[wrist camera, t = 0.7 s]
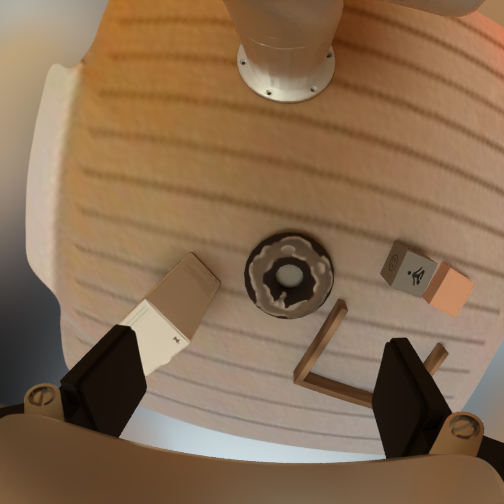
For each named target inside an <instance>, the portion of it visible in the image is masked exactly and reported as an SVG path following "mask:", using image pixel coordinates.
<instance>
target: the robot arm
mask: <svg viewBox="0 0 504 504" xmlns="http://www.w3.org/2000/svg"><path fill="white" fill-rule="evenodd" d="M223 1H224V3H225V5H226V7H227V9H228V11H229V14H230V16H231V19H232V21H233V24H234V26H235V29H236V31H237V34H238V36H239V39H240V41H241V43H240V46H239V48H238V53H237V66H238V69H239V73H240V75H241V77H242V79H243V80H244V82H245V83H246V85H247V86H248V87H249V88H250V89H251V90H252V91H253V92H255V93H256V94H258V95H259V96H261V97H263V98H265V99H267V100H270V101H274V102H277V103H287V104H289V103H298V102H302V101H306V100H308V99H311V98H313V97H315V96H316V95H318V94H319V93H320V92H322V91H323V90H324V89H325V88H326V86H327V85H328V84H329V82H330V80H331V79H332V76H333V74H334V70H335V54H334V50H333V47H332V45H331V43H332V41H333V38H334V35H335V32H336V30H337V27H338V24H339V21H340V19H341V16H342V12H343V7H344V0H223ZM382 1H386V2H390V3H395V4H399V5H402V6H406V7H410V8H414V9H418V10H422V11H425V12H429V13H433V14H436V15H441V16H448V17H461V16H465V15H468V14H470V13H472V12H474V11H475V10H477V9H478V8H479V7H480V6H481V5H482V4H483V2H484V1H485V0H382ZM327 56H330V58H328V57H327ZM242 63H246V64H245V65H242ZM311 89H314V92H311ZM269 92H270V93H271V95H270V96H269V95H267V94H268V93H269ZM60 382H61V385H62V386H61V387H60V388H58V387H56V386H55V385H53V384H47V383H46V384H39V385H36V386H34V387H33V388H31V389H30V390H28V392H27V393H26V395H25V400H24V403H23V404H18V405H13V406H9V407H4V408H0V504H504V443H502V442H499V441H497V440H494V439H491V438H488V437H486V436H484V435H483V434H484V425H483V423H482V421H481V420H480V419H479V418H478V417H477V416H476V415H474V414H471V413H469V412H455V413H452V412H451V410H450V408H449V406H448V404H447V403H446V401H445V399H444V397H443V395H442V394H441V392H440V390H439V388H438V387H437V385H436V383H435V382H434V380H433V378H432V376H431V375H430V373H429V372H428V371H427V370H426V368H425V366H424V365H423V363H422V361H421V360H420V358H419V356H418V355H417V353H416V351H415V350H414V348H413V347H412V345H411V343H410V342H409V340H408V339H407V338H392V339H391V340H390V342H387V343H386V344H385V348H384V353H383V357H382V361H381V365H380V369H379V373H378V377H377V381H376V385H375V388H374V392H373V396H372V409H373V412H374V415H375V419H376V422H377V426H378V430H379V433H380V437H381V441H382V444H383V448H384V452H385V456H386V459H380V460H369V461H355V462H338V463H274V462H256V461H243V460H232V459H224V458H216V457H208V456H201V455H195V454H188V453H183V452H177V451H172V450H167V449H162V448H157V447H152V446H148V445H144V444H140V443H135V442H132V441H128V440H124V439H121V438H119V436H120V435H121V433H122V431H123V429H124V428H125V426H126V424H127V423H128V421H129V419H130V418H131V416H132V414H133V413H134V411H135V409H136V408H137V406H138V404H139V403H140V401H141V399H142V398H143V396H144V394H145V393H146V389H147V384H146V380H145V375H144V371H143V366H142V362H141V357H140V352H139V347H138V342H137V336H136V332H135V331H134V330H132V328H131V327H130V326H125V325H118V324H116V325H115V326H114V327H113V328H112V329H111V330H110V331H109V332H108V333H107V334H106V335H105V336H104V337H103V338H102V339H101V340H100V341H99V342H98V343H97V344H96V345H95V346H94V347H93V348H92V349H91V350H90V351H89V352H88V353H87V354H86V355H85V356H84V357H83V358H82V359H81V360H80V361H79V362H78V363H77V364H76V365H75V366H74V367H73V368H72V369H71V370H70V371H69V372H68V373H67V374H66V375H65V376H64V377H63V378H62V379H61V380H60Z"/></svg>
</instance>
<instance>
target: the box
mask: <svg viewBox="0 0 504 504" xmlns="http://www.w3.org/2000/svg"><path fill="white" fill-rule="evenodd" d="M347 312H348V309H347V306H346V304H345V302H344V301H342V300H340V299H338V301H337V302H336V304H335V306H334V308H333V309H332V311H331V313H330V314H329V316H328V318H327V319H326V321H325V323H324V324H323V326H322V328H321V329H320V331H319V333H318V334H317V336H316V338H315V339H314V341H313V342H312V344H311V345H310V347H309V349H308V350H307V352H306V353H305V355H304V356H303V358H302V360H301V361H300V363H299V364H298V366H297V367H296V369H295V370H294V384H297V385H300V386H302V387H305V388H308V389H311V390H314V391H317V392H320V393H323V394H326V395H329V396H332V397H335V398H338V399H341V400H345V401H348V402H351V403H354V404H358V405H361V406H365V407H368V408H372V396H373V393H369V392H366V391H363V390H360V389H357V388H354V387H351V386H348V385H345V384H342V383H339V382H336V381H333V380H330V379H327V378H325V377H322V376H319V375H316V374H313V373H311V372H309V371H310V370H311V368H312V367H313V365H314V364H315V362H316V361H317V359H318V358H319V356H320V355H321V353H322V352H323V350H324V349H325V347H326V346H327V344H328V343H329V341H330V339H331V338H332V336H333V335H334V333H335V332H336V330H337V328H338V327H339V325H340V324H341V322H342V320H343V319H344V317H345V315H346V314H347ZM448 354H449V353H448V352H447V351H446V349H445V348H444V347H443V345H442V344H440V343H437V345H436V346H435V348H434V349H433V351H432V352H431V353H430V355H429V356H428V358H427V359H426V360H425V362H424V363H423V365H424V366H425V368H426V370H427V371H428V372H429V373H430V375H431V376H433V375H434V373H435V372H436V371H437V369H438V368H439V367H440V365H441V364H442V363H443V361H444V360H445V358H446V357H447V356H448Z"/></svg>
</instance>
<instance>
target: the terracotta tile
mask: <svg viewBox="0 0 504 504" xmlns="http://www.w3.org/2000/svg"><path fill="white" fill-rule="evenodd" d="M474 286H475V283H473V282H472V281H471V280H469V279H468V278H466V277H465V276H463V275H462V274H460V273H459V272H457V271H456V270H454V269H453V268H451V267H450V266H448V265H446V264H445V263H443V262H442V263H441V265H440V267H439V269H438V270H437V272H436V274H435V276H434V277H433V279H432V281H431V283H430V284H429V286H428V288H427V289H426V291H425V293H424V294H423V296H422V297H423V298H424V299H425V300H426V301H427V302H428V303H429V304H430V305H432V306H434V307H435V308H437V309H439V310H441V311H443V312H445V313H446V314H448V315H450V316H452V317H454V318H456V316H457V314H458V313H459V311H460V310H461V308H462V306H463V305H464V303H465V301H466V300H467V298H468V296H469V295H470V293H471V291H472V289H473V288H474Z"/></svg>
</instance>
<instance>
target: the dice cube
mask: <svg viewBox="0 0 504 504" xmlns="http://www.w3.org/2000/svg"><path fill="white" fill-rule="evenodd" d="M436 266H437V263H436V262H434V261H433V260H432V259H430V258H429V257H427V256H426V255H425V254H423V253H421V252H419V251H417V250H414V249H412V248H410V247H408V246H405V245H403V244H401V243H399V242H396V241H395V242H394V244H393V246H392V249H391V251H390V253H389V256H388V258H387V260H386V262H385V265H384V267H383V269H382V271H381V273H380V274H381V275H382V276H383V278H384V279H385V280H386V281H387V282H388V284H389V285H390V286H391V287H393V288H396V289H398V290H401V291H404V292H406V293H409V294H411V295H414V296H416V297H419V298H421V297H422V295H423V293H424V291H425V289H426V287H427V285H428V283H429V281H430V279H431V277H432V275H433V273H434V270H435V268H436Z"/></svg>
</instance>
